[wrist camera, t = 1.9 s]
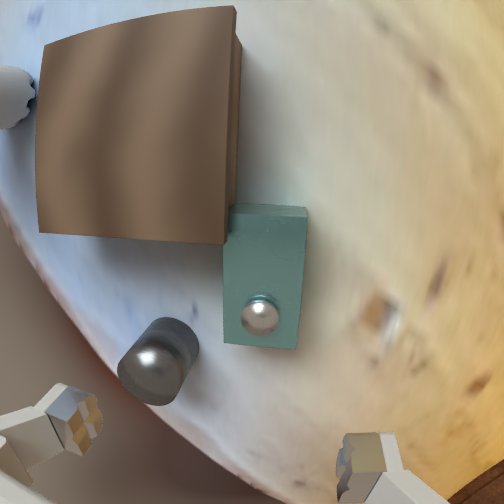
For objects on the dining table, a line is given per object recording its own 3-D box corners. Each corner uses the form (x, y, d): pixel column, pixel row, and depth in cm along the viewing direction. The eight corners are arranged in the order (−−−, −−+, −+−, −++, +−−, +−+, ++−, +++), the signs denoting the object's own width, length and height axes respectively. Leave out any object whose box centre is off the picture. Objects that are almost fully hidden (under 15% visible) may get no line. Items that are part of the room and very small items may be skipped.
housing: (305, 206, 23) (308, 220, 18) (296, 318, 26) (295, 355, 21) (236, 202, 24) (220, 215, 19) (235, 313, 26) (221, 348, 21)
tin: (197, 321, 27) (174, 361, 21) (200, 368, 28) (180, 411, 22) (144, 313, 27) (112, 348, 22) (150, 359, 29) (123, 397, 23)
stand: (248, 39, 20) (233, 5, 14) (241, 224, 24) (223, 245, 18) (88, 60, 21) (44, 45, 16) (84, 216, 25) (39, 232, 20)
